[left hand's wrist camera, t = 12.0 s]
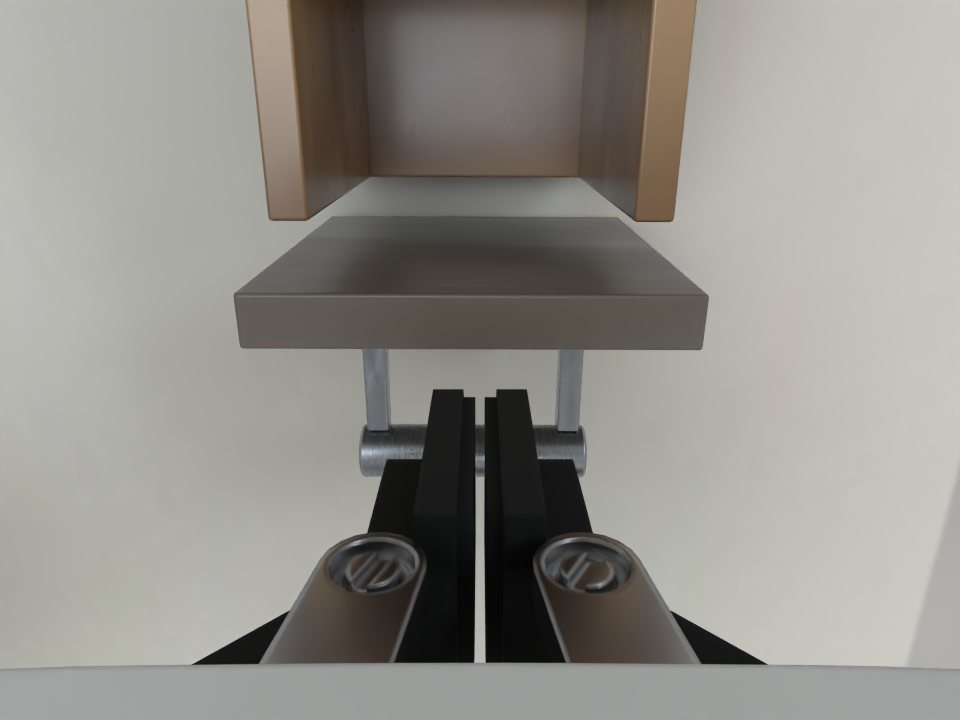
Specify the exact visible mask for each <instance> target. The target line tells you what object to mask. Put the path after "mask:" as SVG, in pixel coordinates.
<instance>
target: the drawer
mask: <svg viewBox="0 0 960 720" xmlns="http://www.w3.org/2000/svg"><path fill="white" fill-rule="evenodd" d="M696 3H697V0H246V10H247V19H248V28H249V38H250V47H251V57H252V66H253V76H254V85H255V94H256V104H257V113H258V123H259V132H260V141H261V151H262V160H263V170H264V179H265V189H266V198H267V207H268V217H269V219H270V220H272V221H306V220H309V219H310V218H311V217H313V216H314V215H316V214H317V213H319V212H320V211H322V210H323V209H324V208H326V207H327V206H329V205H330V204H332V203H333V202H334V201H336V200H337V199H339V198H340V197H342V196H343V195H345V194H346V193H347V192H349V191H350V190H352V189H353V188H355V187H356V186H357V185H359V184H360V183H362V182H363V181H365V180H366V179H368V178H369V177H579V178H581V179H582V180H583V181H584V182H586V183H587V184H588V185H589V186H591V187H592V188H593V189H595V190H596V191H597V192H598V193H600V194H601V195H602V196H604V197H605V198H606V199H607V200H609V201H610V202H611V203H612V204H614V205H615V206H616V207H618V208H619V209H620V210H621V211H623V212H624V213H625V214H626V215H628V216H629V217H630V218H632V219H633V220H634V221H636V222H671V221H673V219H674V214H675V204H676V194H677V185H678V175H679V166H680V156H681V147H682V137H683V127H684V118H685V108H686V99H687V89H688V79H689V70H690V60H691V51H692V41H693V31H694V22H695V12H696ZM708 300H709V297H708V295H707V294H706V293H705V292H704V291H703V290H701V289H700V288H699V287H698V286H697V285H696V284H694V283H693V282H692V281H691V280H690V279H689V278H687V277H686V276H685V275H684V274H683V273H682V272H680V271H679V270H678V269H677V268H676V267H675V266H673V265H672V264H671V263H670V262H669V261H668V260H666V259H665V258H664V257H663V256H662V255H661V254H659V253H658V252H657V251H656V250H655V249H654V248H652V247H651V246H650V245H649V244H648V243H647V242H645V241H644V240H643V239H642V238H641V237H640V236H638V235H637V234H636V233H635V232H634V231H633V230H631V229H630V228H629V227H628V226H627V225H626V224H624V223H623V222H622V221H621V220H620V219H619V218H574V217H331V218H330V219H328V220H327V221H326V222H325V223H323V224H322V225H321V226H320V227H318V228H317V229H316V230H314V231H313V232H312V233H311V234H309V235H308V236H307V237H306V238H304V239H303V240H302V241H300V242H299V243H298V244H297V245H295V246H294V247H293V248H292V249H290V250H289V251H288V252H286V253H285V254H284V255H283V256H281V257H280V258H279V259H278V260H276V261H275V262H274V263H272V264H271V265H270V266H269V267H267V268H266V269H265V270H264V271H262V272H261V273H260V274H258V275H257V276H256V277H255V278H253V279H252V280H251V281H250V282H248V283H247V284H246V285H244V286H243V287H242V288H241V289H239V290H238V291H237V292H236V293H234V303H235V311H236V318H237V326H238V334H239V341H240V346H241V348H278V349H363V363H364V379H365V396H366V412H367V424H366V425H364V426H363V428H362V431H361V436H360V445H359V462H360V469H361V473H362V475H363V476H372V477H382V475H383V471H384V467H385V463H386V461H387V459H422V456H423V450H424V443H425V437H426V431H427V425H428V424H391V403H390V382H389V361H388V349H558V370H557V391H556V412H555V424H556V425H533V431H534V437H535V443H536V450H537V456H538V459H573V461H574V463H575V467H576V471H577V475H578V477H582V476H583V475H584V473H585V469H586V458H587V449H586V436H585V431H584V429H583V426H581V425H579V414H580V398H581V382H582V366H583V350H701V349H702V347H703V340H704V332H705V324H706V316H707V308H708ZM475 477H485V425H475Z"/></svg>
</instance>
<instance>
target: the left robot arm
mask: <svg viewBox="0 0 960 720" xmlns="http://www.w3.org/2000/svg"><path fill="white" fill-rule="evenodd" d="M475 546H476V504H475V397H464V392H463V389H433V394H432V400H431V406H430V413H429V419H428V425H427V431H426V437H425V443H424V450H423V456H422V459H387V461H386V463H385V467H384V471H383V475H382V479H381V482H380V486H379V490H378V494H377V498H376V502H375V505H374V509H373V513H372V517H371V521H370V525H369V528H368V532H367V533H366V534H361V535H356V536H353V537H350V538H348V539H345V540H343V541H340V542H339V543H337V544H336V545H334V546H333V547H331V548H330V549H329V550H328V551H327V552H326V553H325V554H324V555H323V557H322V558H321V559H320V560H319V562H318V564H317V566H316V567H315V569H314V571H313V572H312V574H311V576H310V578H309V579H308V581H307V583H306V584H305V586H304V588H303V589H302V591H301V593H300V595H299V596H298V598H297V600H296V601H295V603H294V605H293V606H292V608H291V610H290V611H288V612H286V613H284V614H282V615H281V616H279V617H277V618H275V619H273V620H272V621H270V622H268V623H266V624H264V625H263V626H261V627H259V628H257V629H255V630H254V631H252V632H250V633H248V634H246V635H245V636H243V637H241V638H239V639H237V640H235V641H234V642H232V643H230V644H228V645H226V646H225V647H223V648H221V649H219V650H217V651H216V652H214V653H212V654H210V655H208V656H207V657H205V658H203V659H201V660H199V661H198V662H196V663H194V664H192V665H145V666H75V667H47V668H20V669H0V720H960V669H940V668H912V667H885V666H831V665H768V664H766V663H764V662H762V661H761V660H759V659H757V658H755V657H753V656H752V655H750V654H748V653H746V652H744V651H743V650H741V649H739V648H737V647H735V646H734V645H732V644H730V643H728V642H726V641H725V640H723V639H721V638H719V637H717V636H715V635H714V634H712V633H710V632H708V631H706V630H705V629H703V628H701V627H699V626H697V625H696V624H694V623H692V622H690V621H688V620H687V619H685V618H683V617H681V616H679V615H678V614H676V613H674V612H672V611H670V610H669V608H668V606H667V605H666V603H665V601H664V600H663V598H662V596H661V595H660V593H659V591H658V589H657V588H656V586H655V584H654V583H653V581H652V579H651V578H650V576H649V574H648V572H647V571H646V569H645V567H644V566H643V564H642V562H641V560H640V559H639V558H638V557H637V555H636V554H635V553H634V552H633V551H632V550H631V549H630V548H629V547H627V546H626V545H624V544H623V543H621V542H620V541H617V540H615V539H612V538H610V537H607V536H604V535H599V534H594V533H593V532H592V528H591V525H590V521H589V517H588V513H587V509H586V505H585V502H584V498H583V494H582V490H581V486H580V482H579V479H578V475H577V471H576V467H575V463H574V461H573V459H538V456H537V450H536V443H535V437H534V431H533V425H532V419H531V413H530V406H529V400H528V394H527V389H497V392H496V397H485V503H484V546H485V645H486V663H474V645H475Z"/></svg>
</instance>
